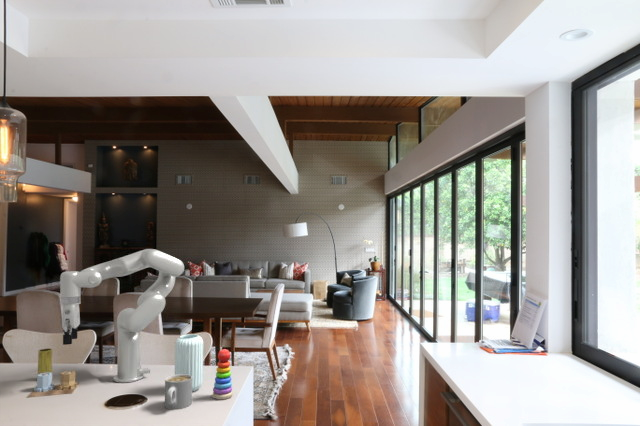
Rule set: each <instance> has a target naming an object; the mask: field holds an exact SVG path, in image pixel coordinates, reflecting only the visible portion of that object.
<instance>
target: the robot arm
mask: <svg viewBox="0 0 640 426" xmlns="http://www.w3.org/2000/svg"><path fill="white" fill-rule="evenodd" d="M147 268H152V269H154V270H156V271H158V277H157V279H156V280H155V282H154V283H152V284H151V285H150V286H149V287H148V288H147V289H146V290H145V291H144V292H143V293H142V294H140V296H139V297H138V299H137V303H136V304H137V307H136V308H134V307H126V308H124V309H122V310H121V311H120V312H119V313H118V316H117V319H116V328H117V363H116V364H117V372H116V374H115V375H114V376H113V379H112V380H113V381H114V382H116V383H131V382H137V381H139V380H141V379H143V378H144V374H145V375H147V374H151V368H148V367H146V368H143V367H142V365H141V341H142V340H141V339H142V336H141V332H142V331H143V330H144V329H146V328H147V327H148V326H149V325H150V324H151V323H152V322H153V321H155V319H156V318H157V317H159V316H160V314H161V313H162V312H163V311H164V309H165V306H166V297H167V296H168V295H169V294H170V293H171V291H172V290H173V289H174V286H175V284H176V277H179V276H181V275H182V274H183V273H184V271H185V265H184V262H183V261H182V260H181V259H179V258H176V257H175V256H172V255H170V254H168V253H166V252H164V251H161V250H158V249H154V248H145V249H143V250H139V251H136V252H133V253H129V254H128V255H124V256H122V257H118V258H115V259H112V260H109V261H106V262H102V263H99V264H96V265H92V266H89V267H87V268H85V269H82V270H80V271H78V270H77V271H73V270H72V271H71V270H69V271H63V272H62V273H61V274H60V278H59V280H60V281H59V282H60V288H59V289H60V292H59V294H60V296H59V297H60V299H59V300H60V303H59V304H60V306H62V311H61V313H62V314H61V315H62V316H61V317H62V318H61V321H62V323H61V326H62V329H63V332H62V345H64V346H66V345H71V344H73V340H77V339H78V327H79V325H81V317H80V304H82V303H81V295H82V294H81V293H82V292H81V289H82V288H89V289H90V288H95V287H98V286H99V285H100V284H101V283H102V281H104V280H107V279H111V278H118V277H120V278H121V277H125V276H129V275H132V274H134V273H136V272H139V271H142V270H145V269H147Z"/></svg>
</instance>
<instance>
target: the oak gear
mask: <svg viewBox="0 0 640 426" xmlns="http://www.w3.org/2000/svg"><path fill="white" fill-rule="evenodd" d="M66 372H71V373H69V374H65V373H66ZM78 383H79V382H78V381H76V371H75V370H67V371H62V372H60V384H59V385H58V384H57V385H58V389H59V390H62V389H63V390H68V389H73V388H75V387H76V388H77V387H78V386H79V384H78ZM77 385H78V386H77Z"/></svg>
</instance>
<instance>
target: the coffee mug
mask: <svg viewBox="0 0 640 426" xmlns="http://www.w3.org/2000/svg"><path fill="white" fill-rule="evenodd" d="M192 400H193V392H192V376H191V375H187V374H178V375H175V374H173V375H169V376H167V377H165V378H164V408H165V409H168V410H174V411H175V410H183V409H186V408H188V407H190V406H191V405H192V403H193V401H192Z"/></svg>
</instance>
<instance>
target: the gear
mask: <svg viewBox="0 0 640 426" xmlns="http://www.w3.org/2000/svg"><path fill="white" fill-rule="evenodd" d="M42 374H48V375H45V376H42ZM55 385H56V384H54V383H53V372H52V373H41V374H39V375H37V376H36V385H35V387H34V388H33V390H34V391H36V392H42V391H43V392H45V391H48V390H52V389H54V387H55Z"/></svg>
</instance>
